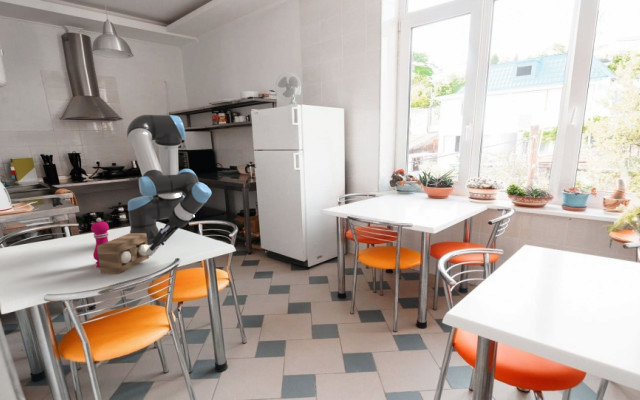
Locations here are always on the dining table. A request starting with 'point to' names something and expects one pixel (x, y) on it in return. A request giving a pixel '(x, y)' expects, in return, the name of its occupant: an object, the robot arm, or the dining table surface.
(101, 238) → the pepper mill
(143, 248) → the inner knob
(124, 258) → the outer knob
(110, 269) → the walnut block
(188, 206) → the robot arm
